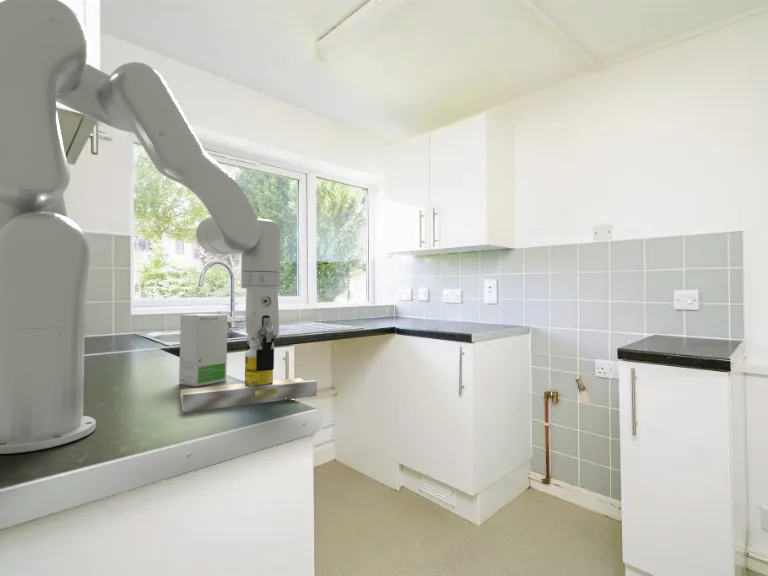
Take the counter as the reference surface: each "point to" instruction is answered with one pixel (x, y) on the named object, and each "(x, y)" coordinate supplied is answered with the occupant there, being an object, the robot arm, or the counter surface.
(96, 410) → the counter surface
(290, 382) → the shelf plank
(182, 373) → the skincare box
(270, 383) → the supplement bottle
